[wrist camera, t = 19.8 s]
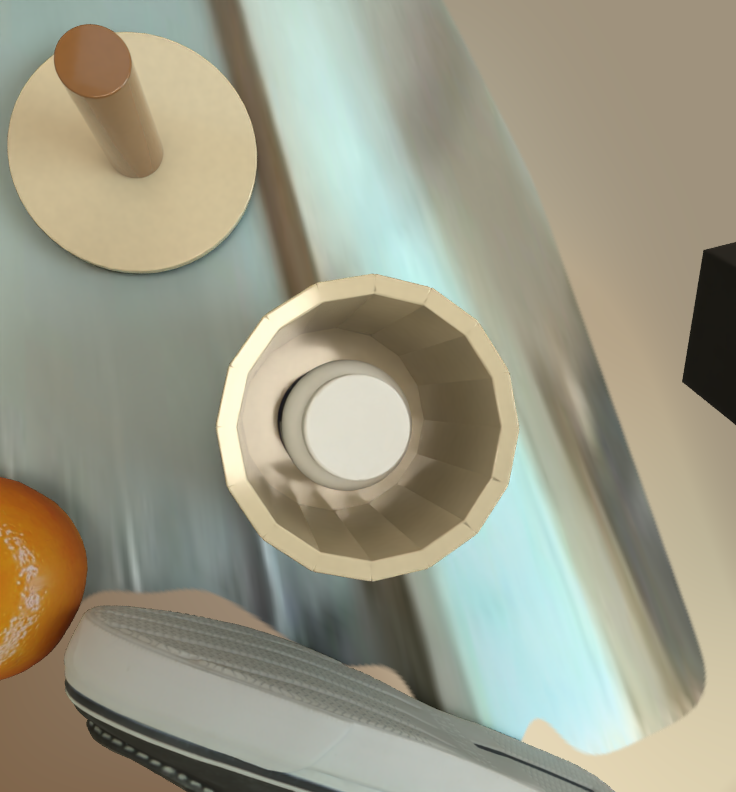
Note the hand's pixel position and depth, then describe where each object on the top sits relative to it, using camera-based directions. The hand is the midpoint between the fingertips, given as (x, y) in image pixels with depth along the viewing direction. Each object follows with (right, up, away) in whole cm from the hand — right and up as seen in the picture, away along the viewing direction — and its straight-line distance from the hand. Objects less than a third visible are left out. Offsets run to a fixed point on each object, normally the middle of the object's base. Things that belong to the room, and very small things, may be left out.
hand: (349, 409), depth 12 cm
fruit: (-17, -8, +22) cm, 29 cm away
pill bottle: (-2, -1, +24) cm, 24 cm away
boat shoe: (+2, -14, +20) cm, 24 cm away
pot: (-1, -1, +24) cm, 24 cm away
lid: (-11, +12, +22) cm, 27 cm away
